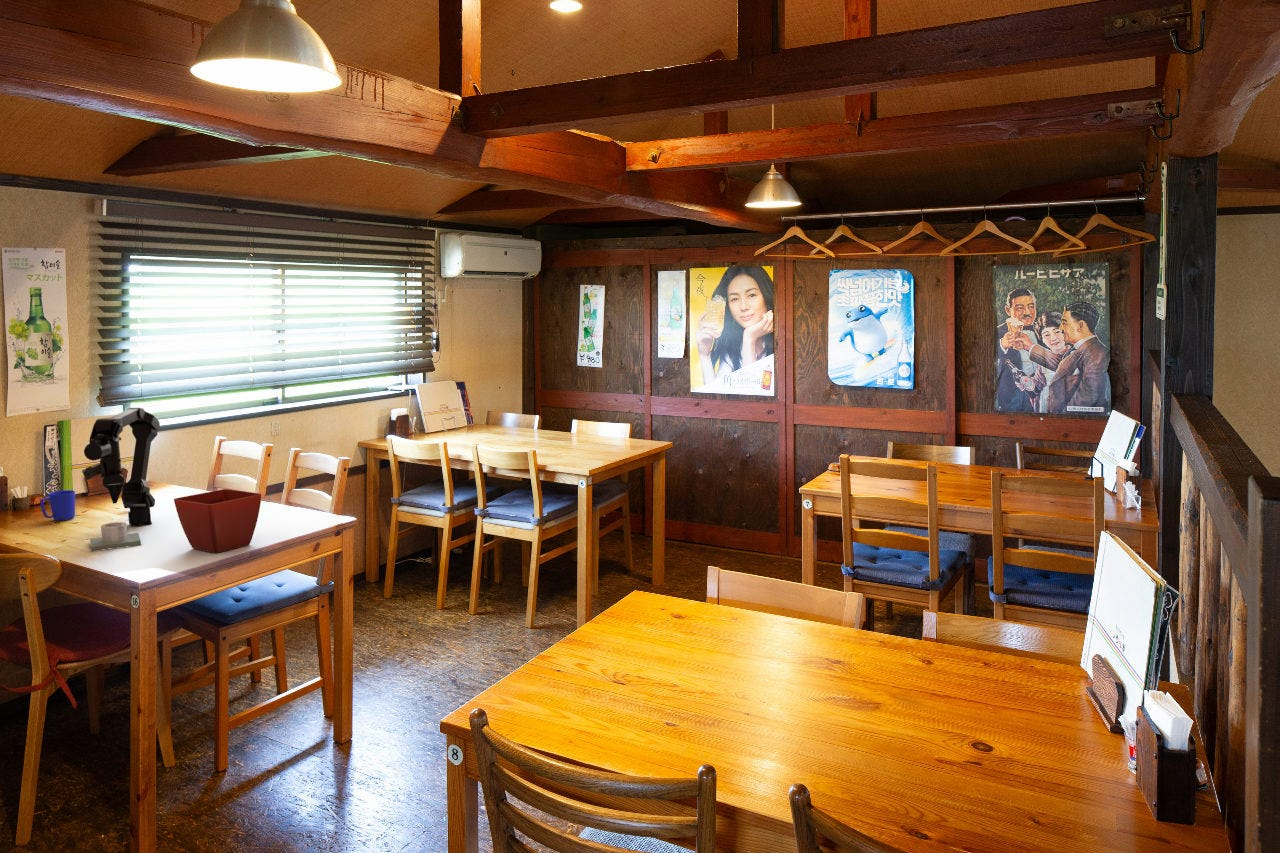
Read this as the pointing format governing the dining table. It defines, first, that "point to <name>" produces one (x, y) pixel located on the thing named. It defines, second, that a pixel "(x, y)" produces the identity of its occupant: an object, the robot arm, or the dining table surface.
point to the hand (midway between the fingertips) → (114, 500)
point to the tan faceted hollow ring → (114, 532)
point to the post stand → (131, 541)
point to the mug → (60, 505)
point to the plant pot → (219, 519)
